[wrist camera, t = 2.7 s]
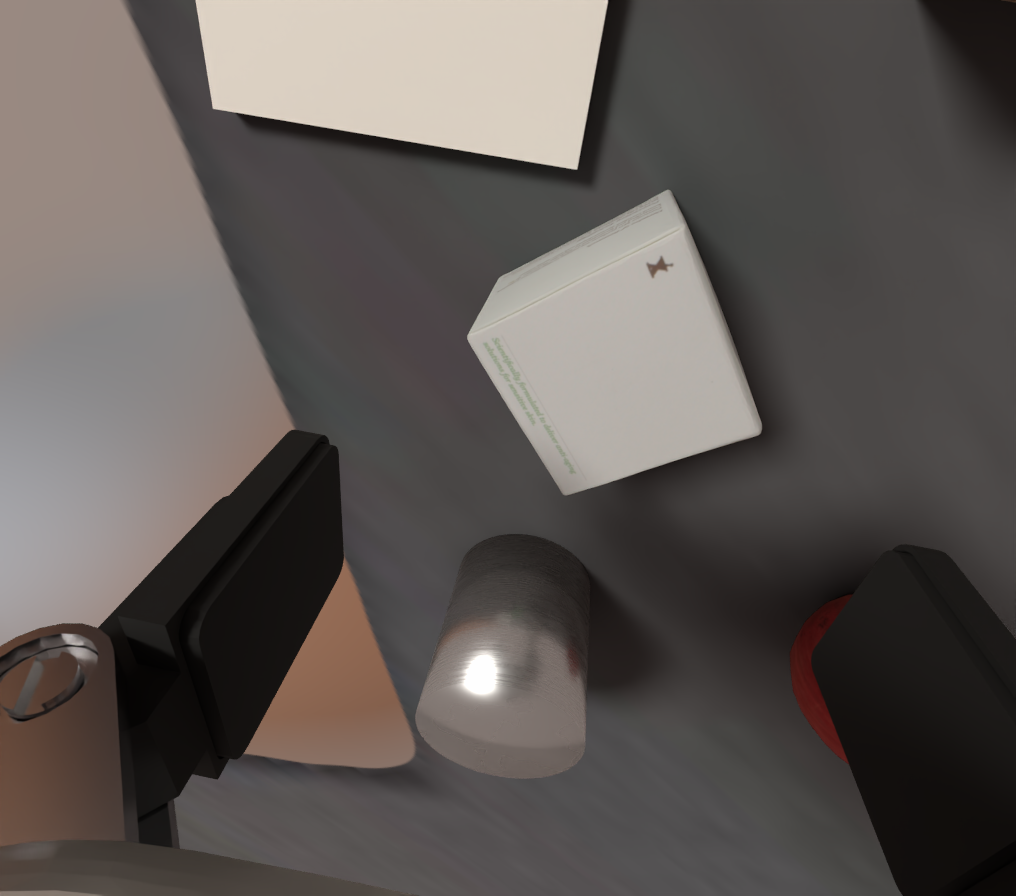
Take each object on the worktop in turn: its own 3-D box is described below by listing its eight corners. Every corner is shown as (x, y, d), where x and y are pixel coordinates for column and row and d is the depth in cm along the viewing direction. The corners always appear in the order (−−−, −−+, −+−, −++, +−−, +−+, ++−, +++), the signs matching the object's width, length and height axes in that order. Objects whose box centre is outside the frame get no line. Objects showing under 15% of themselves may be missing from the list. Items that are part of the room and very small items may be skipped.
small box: (493, 276, 17) (458, 335, 13) (671, 180, 15) (696, 217, 11) (571, 418, 19) (563, 506, 15) (734, 355, 17) (774, 438, 13)
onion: (765, 556, 21) (835, 765, 15) (934, 540, 20) (1096, 767, 13) (771, 647, 24) (831, 855, 18) (918, 640, 23) (1045, 865, 16)
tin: (465, 521, 23) (418, 668, 17) (603, 550, 23) (603, 708, 17) (455, 610, 26) (413, 757, 21) (575, 636, 26) (566, 792, 20)
